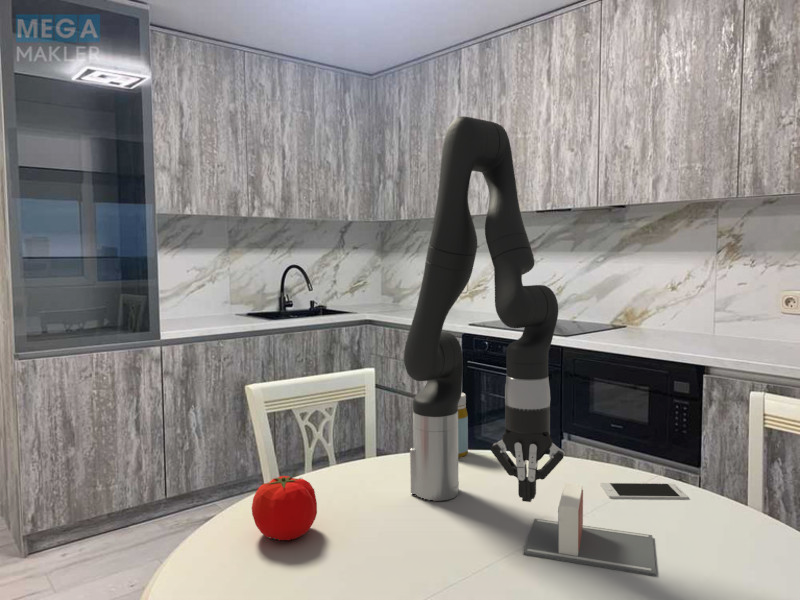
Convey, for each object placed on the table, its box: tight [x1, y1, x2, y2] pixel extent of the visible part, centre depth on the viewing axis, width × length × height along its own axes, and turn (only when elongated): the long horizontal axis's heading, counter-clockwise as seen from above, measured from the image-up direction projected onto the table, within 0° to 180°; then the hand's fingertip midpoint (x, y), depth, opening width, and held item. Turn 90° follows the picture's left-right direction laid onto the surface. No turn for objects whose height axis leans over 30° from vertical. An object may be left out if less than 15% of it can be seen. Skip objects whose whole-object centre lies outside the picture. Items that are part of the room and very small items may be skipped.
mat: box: [522, 518, 657, 577], centre depth 100 cm, size 20×13×1 cm, turn 69°
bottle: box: [458, 392, 469, 459], centre depth 146 cm, size 7×7×15 cm
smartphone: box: [599, 482, 689, 500], centre depth 122 cm, size 7×15×1 cm, turn 87°
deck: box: [557, 482, 584, 556], centre depth 100 cm, size 3×10×8 cm, turn 159°
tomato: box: [251, 475, 318, 541], centre depth 105 cm, size 12×12×10 cm
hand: (527, 499), depth 103 cm, fingers closed
